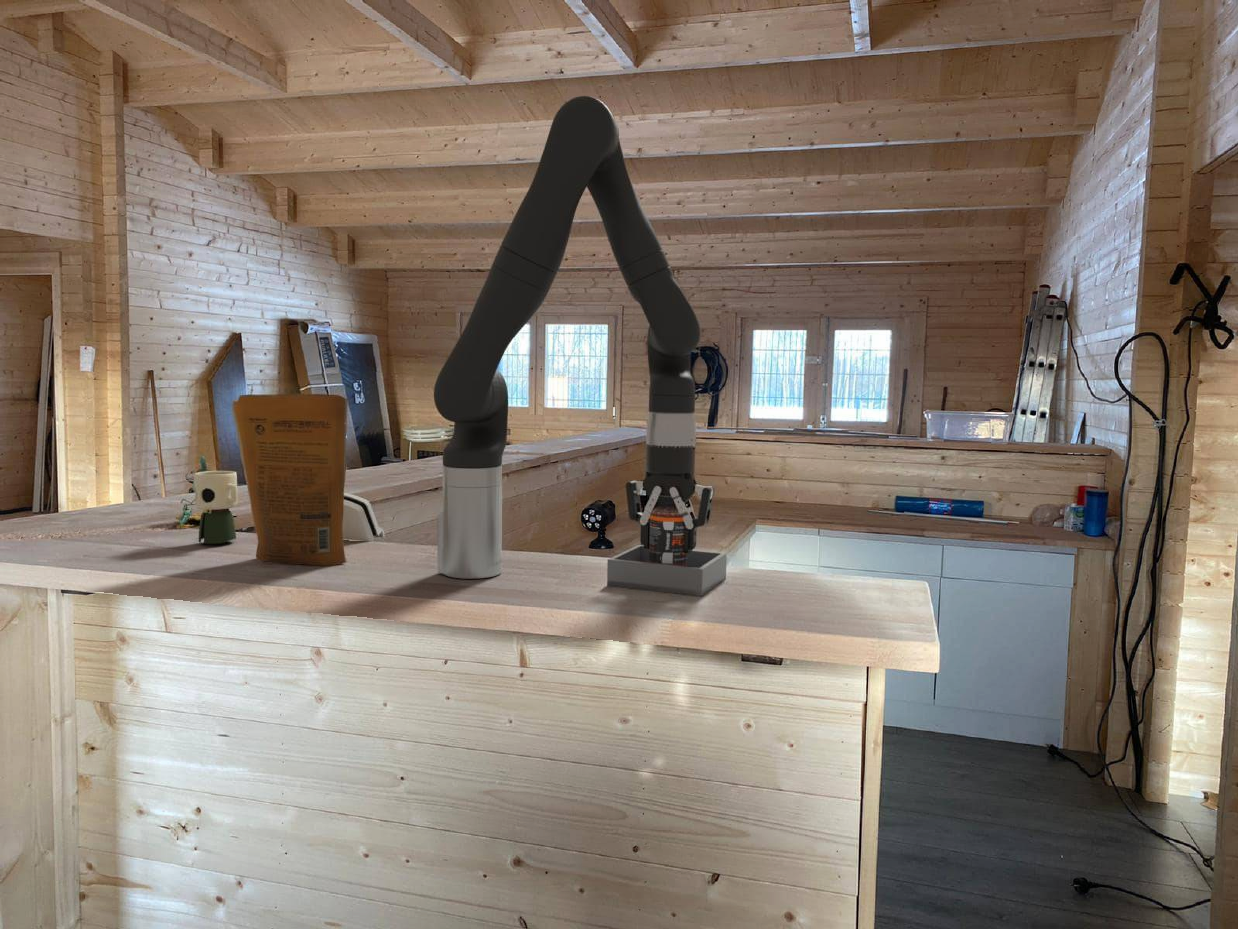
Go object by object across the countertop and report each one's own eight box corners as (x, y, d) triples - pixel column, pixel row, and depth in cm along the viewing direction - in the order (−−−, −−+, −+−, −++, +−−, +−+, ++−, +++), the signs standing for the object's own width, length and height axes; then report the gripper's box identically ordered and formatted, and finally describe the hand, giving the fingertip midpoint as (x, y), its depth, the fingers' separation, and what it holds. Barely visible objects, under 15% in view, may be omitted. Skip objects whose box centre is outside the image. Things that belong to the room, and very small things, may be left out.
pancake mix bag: (340, 570, 141) (337, 394, 138) (233, 563, 145) (228, 392, 142) (360, 561, 148) (358, 394, 145) (257, 555, 151) (253, 391, 148)
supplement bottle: (676, 572, 133) (678, 498, 131) (641, 567, 135) (643, 495, 134) (693, 565, 138) (695, 493, 137) (659, 561, 141) (660, 490, 139)
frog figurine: (148, 527, 176) (151, 453, 177) (217, 524, 193) (220, 456, 193) (185, 530, 173) (189, 455, 173) (252, 526, 190) (255, 458, 190)
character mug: (180, 543, 160) (178, 472, 159) (215, 537, 166) (213, 469, 165) (219, 550, 155) (217, 476, 154) (254, 543, 161) (252, 473, 160)
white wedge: (386, 536, 170) (375, 490, 166) (372, 549, 166) (361, 502, 162) (315, 530, 176) (303, 485, 172) (300, 541, 172) (287, 496, 168)
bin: (607, 585, 134) (607, 559, 133) (638, 568, 146) (638, 544, 145) (701, 596, 128) (702, 569, 128) (726, 578, 140) (726, 553, 140)
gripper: (617, 441, 134) (615, 550, 136) (709, 446, 128) (705, 559, 130) (635, 438, 141) (633, 542, 142) (723, 442, 135) (719, 550, 137)
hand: (668, 549), depth 136 cm, fingers closed on supplement bottle, 6 cm apart
